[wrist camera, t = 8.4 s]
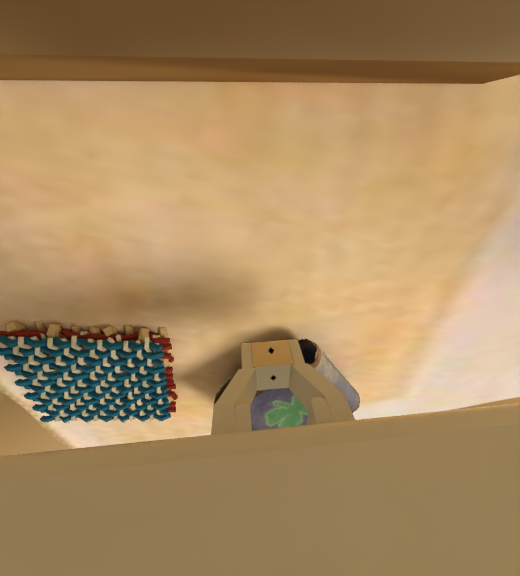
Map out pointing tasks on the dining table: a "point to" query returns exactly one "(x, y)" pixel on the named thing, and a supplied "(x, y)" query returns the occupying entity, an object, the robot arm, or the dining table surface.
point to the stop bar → (261, 40)
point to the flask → (284, 404)
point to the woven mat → (93, 372)
